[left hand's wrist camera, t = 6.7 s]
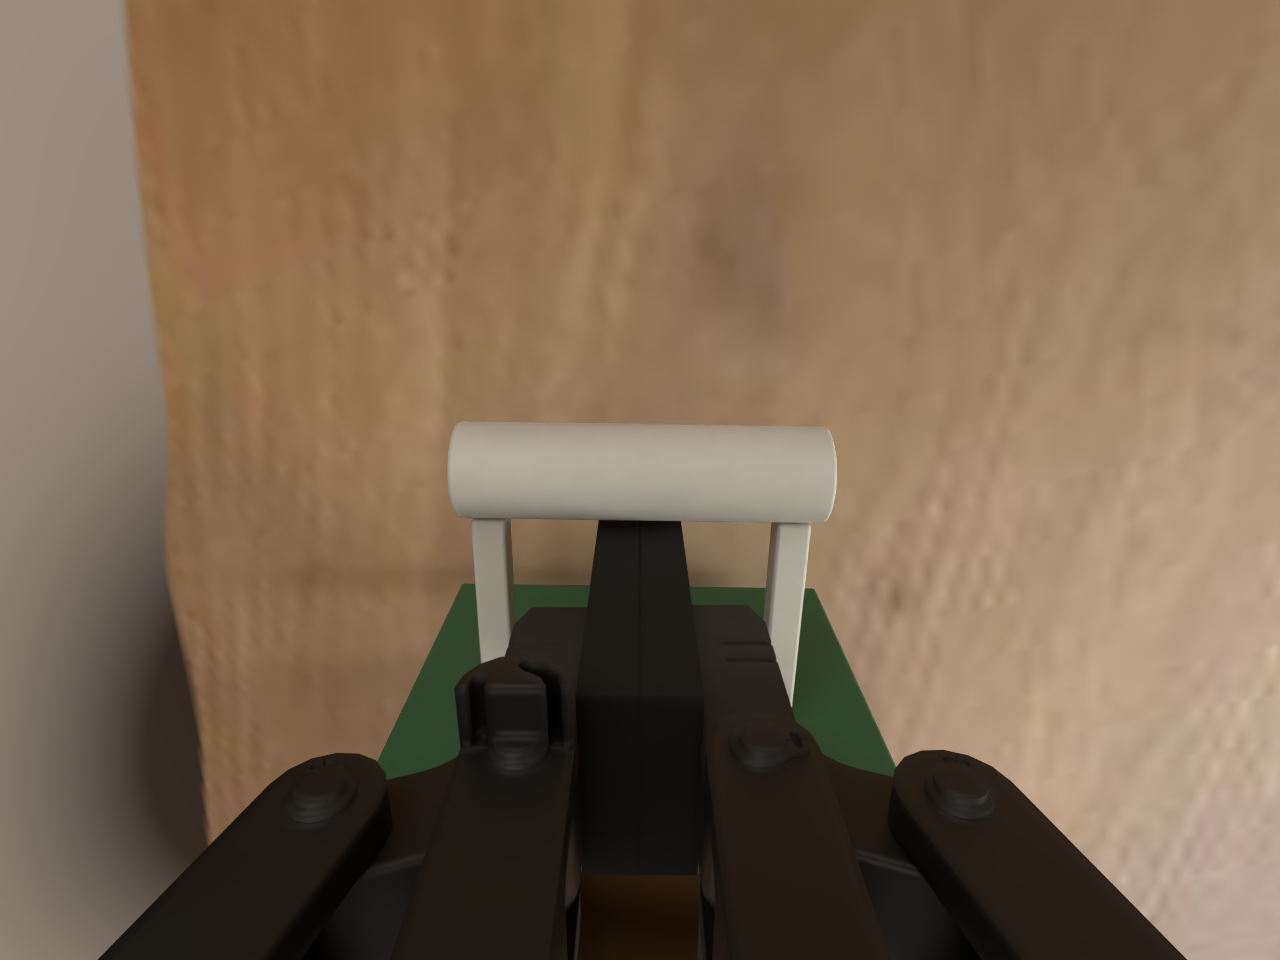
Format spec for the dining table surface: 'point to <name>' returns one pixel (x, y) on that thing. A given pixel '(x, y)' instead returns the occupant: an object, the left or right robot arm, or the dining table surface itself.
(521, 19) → the dining table surface
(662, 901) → the drawer
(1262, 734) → the dining table surface
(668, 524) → the left robot arm
